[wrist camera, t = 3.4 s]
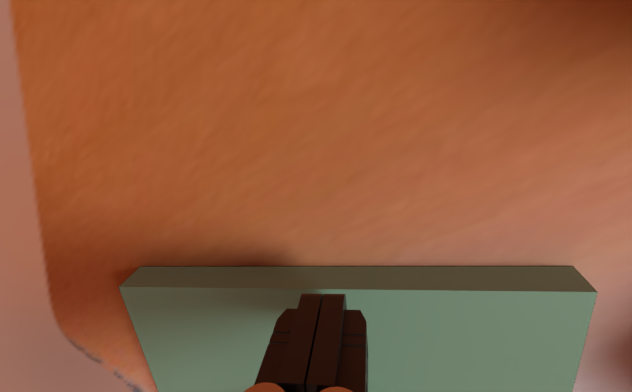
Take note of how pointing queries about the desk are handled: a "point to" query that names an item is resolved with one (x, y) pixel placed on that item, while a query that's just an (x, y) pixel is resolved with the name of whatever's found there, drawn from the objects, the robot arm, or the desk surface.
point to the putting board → (369, 323)
